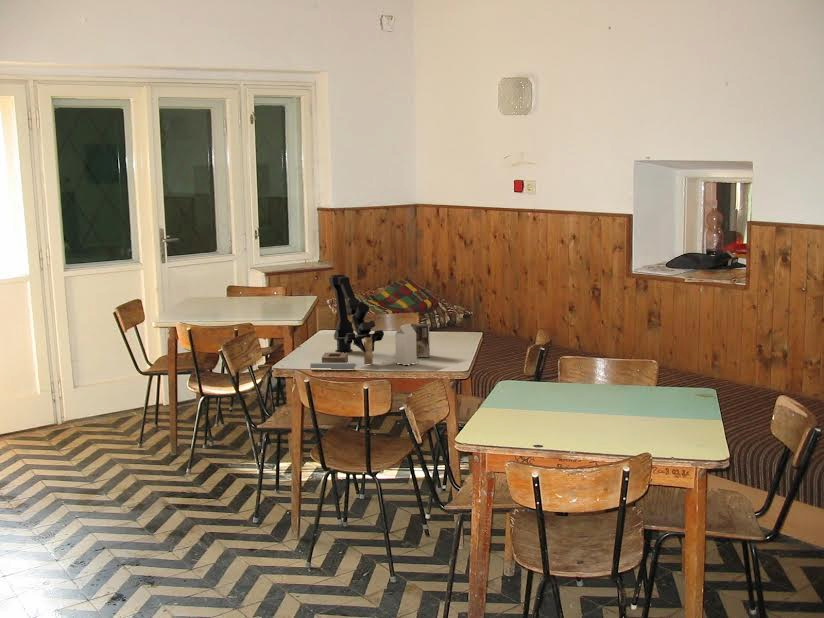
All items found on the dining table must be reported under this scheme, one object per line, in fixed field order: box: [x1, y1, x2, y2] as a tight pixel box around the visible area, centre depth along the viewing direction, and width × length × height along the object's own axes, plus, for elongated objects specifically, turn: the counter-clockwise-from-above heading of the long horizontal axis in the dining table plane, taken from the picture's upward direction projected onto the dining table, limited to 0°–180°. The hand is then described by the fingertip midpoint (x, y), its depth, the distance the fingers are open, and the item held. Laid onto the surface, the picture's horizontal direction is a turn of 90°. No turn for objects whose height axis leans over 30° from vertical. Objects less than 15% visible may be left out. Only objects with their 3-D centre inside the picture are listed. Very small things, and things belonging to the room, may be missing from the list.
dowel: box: [363, 337, 374, 364], centre depth 455 cm, size 4×4×13 cm
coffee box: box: [410, 323, 431, 358], centre depth 469 cm, size 9×6×16 cm
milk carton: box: [394, 323, 418, 366], centre depth 454 cm, size 7×7×19 cm
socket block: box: [321, 352, 349, 363], centre depth 455 cm, size 11×11×5 cm
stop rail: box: [309, 362, 355, 370], centre depth 445 cm, size 2×20×4 cm, turn 87°
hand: (369, 351), depth 454 cm, fingers closed on dowel, 4 cm apart
